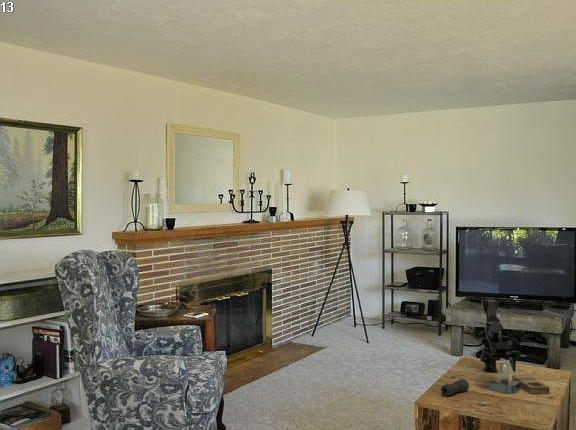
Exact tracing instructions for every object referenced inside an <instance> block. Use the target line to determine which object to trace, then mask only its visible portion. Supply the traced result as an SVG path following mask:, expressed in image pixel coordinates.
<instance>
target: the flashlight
mask: <svg viewBox="0 0 576 430" xmlns="http://www.w3.org/2000/svg"><path fill="white" fill-rule="evenodd" d="M469 389H470V382H469V381H468V380H467V379H466V378H461V379H458V380H455V381H454V382H452V383H446V384H445V383H444V384H443V385H442V386H441V388H440V392H441V394H442V395H443V396H444V397H449V396H451V395H453V394H455V393H460V392H465V391H468V390H469Z"/></svg>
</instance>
